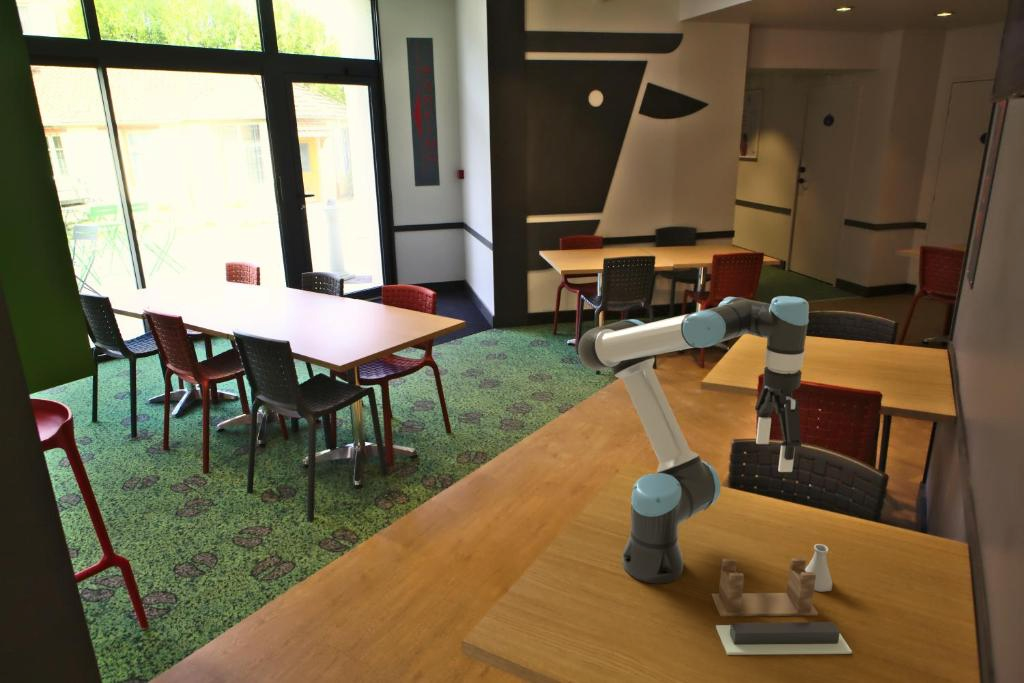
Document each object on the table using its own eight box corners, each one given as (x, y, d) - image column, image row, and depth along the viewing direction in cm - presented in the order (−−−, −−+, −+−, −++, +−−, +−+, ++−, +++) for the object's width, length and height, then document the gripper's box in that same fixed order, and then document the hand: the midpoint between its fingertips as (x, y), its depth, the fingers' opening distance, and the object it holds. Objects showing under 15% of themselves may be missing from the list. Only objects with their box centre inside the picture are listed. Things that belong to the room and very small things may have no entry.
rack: (720, 616, 147) (724, 577, 144) (711, 595, 154) (715, 557, 151) (817, 615, 147) (823, 576, 144) (804, 594, 153) (809, 556, 150)
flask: (836, 594, 153) (841, 558, 150) (803, 590, 155) (808, 555, 152) (828, 575, 160) (833, 540, 157) (797, 572, 162) (801, 537, 159)
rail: (734, 644, 138) (735, 633, 137) (729, 634, 141) (730, 623, 140) (837, 643, 138) (839, 632, 137) (831, 633, 140) (833, 622, 140)
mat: (727, 654, 136) (727, 652, 136) (716, 627, 144) (716, 625, 143) (851, 653, 136) (851, 651, 135) (833, 626, 143) (833, 624, 143)
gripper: (826, 388, 128) (814, 484, 134) (778, 350, 152) (769, 432, 158) (788, 389, 128) (777, 484, 135) (746, 350, 152) (738, 433, 158)
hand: (773, 456), depth 146 cm, fingers open, 13 cm apart
